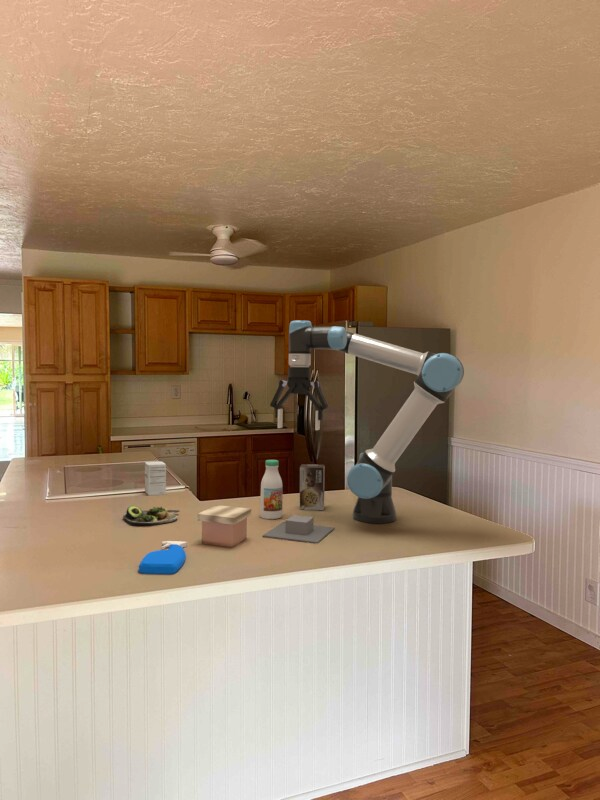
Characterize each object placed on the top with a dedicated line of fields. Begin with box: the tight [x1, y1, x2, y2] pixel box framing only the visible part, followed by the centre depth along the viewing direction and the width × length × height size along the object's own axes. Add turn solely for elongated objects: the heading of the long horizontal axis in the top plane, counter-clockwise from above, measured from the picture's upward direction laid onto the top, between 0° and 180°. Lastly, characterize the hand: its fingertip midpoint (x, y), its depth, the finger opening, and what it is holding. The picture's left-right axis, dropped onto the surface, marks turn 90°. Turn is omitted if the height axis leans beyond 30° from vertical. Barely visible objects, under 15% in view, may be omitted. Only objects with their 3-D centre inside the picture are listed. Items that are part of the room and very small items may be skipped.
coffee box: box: [299, 463, 326, 511], centre depth 225 cm, size 9×6×16 cm
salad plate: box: [122, 505, 180, 527], centre depth 206 cm, size 19×18×5 cm
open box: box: [201, 517, 248, 548], centre depth 182 cm, size 10×10×7 cm
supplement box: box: [144, 460, 167, 496], centre depth 246 cm, size 7×7×13 cm
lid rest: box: [261, 514, 336, 544], centre depth 192 cm, size 18×18×4 cm
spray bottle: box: [138, 540, 188, 575], centre depth 165 cm, size 3×11×24 cm
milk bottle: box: [259, 459, 284, 520], centre depth 211 cm, size 8×8×20 cm
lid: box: [197, 504, 252, 525], centre depth 182 cm, size 12×12×2 cm
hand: (298, 428), depth 205 cm, fingers open, 13 cm apart
